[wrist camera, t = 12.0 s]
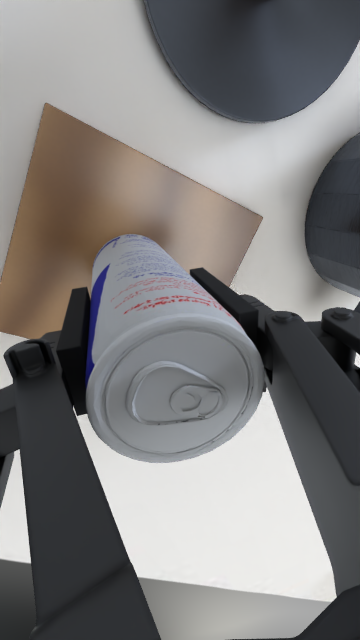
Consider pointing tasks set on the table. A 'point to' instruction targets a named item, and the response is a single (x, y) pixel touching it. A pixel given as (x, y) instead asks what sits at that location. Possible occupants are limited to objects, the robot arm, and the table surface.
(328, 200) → the pot
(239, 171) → the table surface
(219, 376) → the beverage can
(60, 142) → the cork mat
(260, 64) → the lid
